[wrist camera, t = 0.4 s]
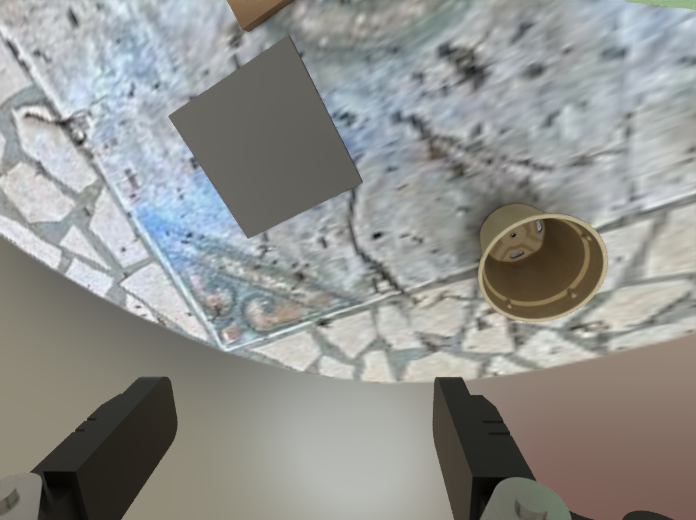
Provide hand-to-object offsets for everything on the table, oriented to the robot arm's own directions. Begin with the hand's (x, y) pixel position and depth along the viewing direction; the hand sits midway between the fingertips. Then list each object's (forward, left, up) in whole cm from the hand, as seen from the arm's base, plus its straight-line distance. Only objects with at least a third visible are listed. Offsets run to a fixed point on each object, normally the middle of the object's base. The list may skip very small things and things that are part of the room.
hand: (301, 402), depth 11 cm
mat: (-7, -8, -28) cm, 30 cm away
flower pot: (+11, +10, -28) cm, 32 cm away
